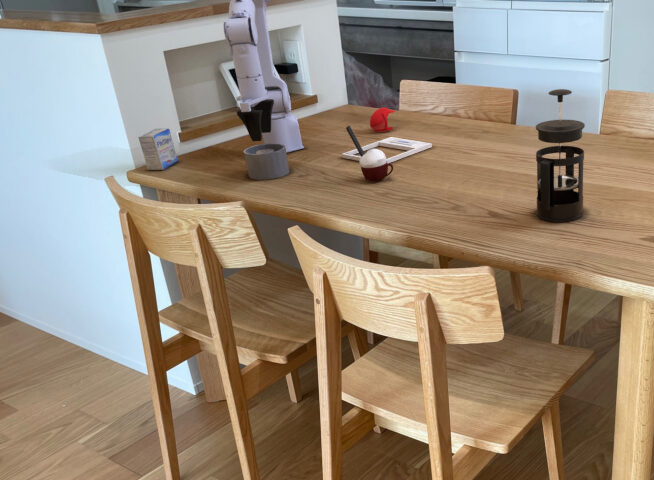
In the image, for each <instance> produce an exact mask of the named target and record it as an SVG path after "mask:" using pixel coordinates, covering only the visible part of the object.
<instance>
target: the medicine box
mask: <svg viewBox="0 0 654 480" xmlns="http://www.w3.org/2000/svg"><path fill="white" fill-rule="evenodd" d="M137 138H138V141H139V144H140V149H141V152H142V154H143V158H144V162H145V165H146V168H147V171H164V170H166V169H168V168H169V167H171V166H172V165H174V164H176V163H178V162H179V160H178V159H179V158H178V155H177V152H176V148H175V145H174V140H173V137H172V134H171V130H170V128H166V127H165V128H162V127H161V128H154V129H152V130H150V131H148V132H146V133H144V134H141V135H139V136H138V137H137Z"/></svg>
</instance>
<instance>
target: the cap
mask: <svg viewBox="0 0 654 480" xmlns="http://www.w3.org/2000/svg"><path fill="white" fill-rule="evenodd" d="M392 113H393V114H394V113H395V110H394V109H389V108H388V107H380V108H377V109H376V110H375V111H374V112H373V113H372V114H371V116H370V119H369V127H370V128H371V129H372V131H373V132H375V133H381V132H388V131H393V129H394V128H393V126H388V125H389V122H388V117H389V115H390V114H392Z"/></svg>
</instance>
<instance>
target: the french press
mask: <svg viewBox="0 0 654 480" xmlns="http://www.w3.org/2000/svg"><path fill="white" fill-rule="evenodd" d="M572 93H573V91H572V90H570V89H565V88H559V89H553V90H550V91H549V92H548V95H549V96H556V97H557V103H558V113H559V114H558V119H551V120H545V121H542V122H540V123H537V124H536V125H535V130H536V131H537V136H538V137H537V138H538V141H540V142H543V143H547V144H558V145H551V146H547V147H542V148H540V149H538V150H537V151H536V152H535V159H536V160H535V161H536V171H537V172H536V179H537V180H536V184H537V186H536V187H537V188H536V189H537V192H536V193H537V195H536V211H535V216H536V218H538V220H541V221H544V222H550V223H565V222H567V223H569V222H573V221H577V220H579V219H581V218H583V216H584V215H585V210H584V161H585V150H584V149H583V148H581V147H578V146H574V145H562V144H567V143H573V142H576V141H579V140H581V139H582V138H583V130H584V128H585V126H586V124H585V122H582V121H580V120H575V119H562V103H563V101H564V96H568V95H572ZM552 154H558V158H549V157H544V156H545V155H552ZM562 154H565V158H562ZM575 155H576V156H575ZM577 164H578V176H576V175H575V165H577ZM555 167H558V174H555ZM562 167H565V174H562ZM576 189H577V191H575V190H576Z"/></svg>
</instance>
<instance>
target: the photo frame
mask: <svg viewBox="0 0 654 480" xmlns="http://www.w3.org/2000/svg"><path fill="white" fill-rule="evenodd" d="M379 146H380V147H385V148H391V149H398V150H402V151H404V152H402V153H399V154H396V155H394V156H390V157H388V158H386V160H387V164H392V163H393V162H396V161H398V160H401V159H404V158H406V157H409V156H411V155H414V154H418V153H420V152H423V151H425V150H427V149H431V148H432V146H433V144H432V143H431V142H425V141H419V140H412V139H406V138H400V137H395V136H390V137H386V138H384V139H381V140H378V141H375V142H372V143H369V144H367V145H363V146H361V148H362V150H363V151H364V152H365V151H368V150H371V149H375V148H377V147H379ZM356 154H359V152H358V150H357V148H355V149H352V150H349V151H346V152H343V153H341V158H343V159H346V160H347V159H348V160H353V161H358V162H359V161H360V158H361V156H360V155H356Z"/></svg>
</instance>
